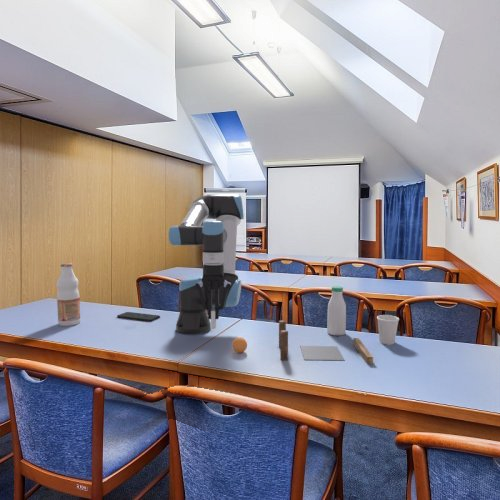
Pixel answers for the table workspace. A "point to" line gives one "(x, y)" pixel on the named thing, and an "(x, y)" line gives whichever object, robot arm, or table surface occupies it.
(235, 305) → the robot arm
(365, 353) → the wall
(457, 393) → the table surface
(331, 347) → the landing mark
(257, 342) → the table surface
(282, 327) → the post
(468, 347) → the table surface
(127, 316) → the smart home device
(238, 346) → the ball
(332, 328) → the milk bottle
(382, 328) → the dixie cup
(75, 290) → the fruit juice
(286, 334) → the post
